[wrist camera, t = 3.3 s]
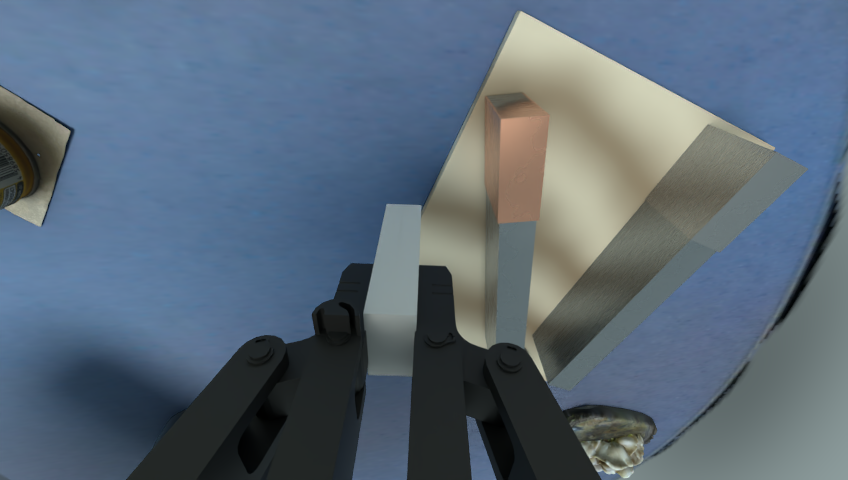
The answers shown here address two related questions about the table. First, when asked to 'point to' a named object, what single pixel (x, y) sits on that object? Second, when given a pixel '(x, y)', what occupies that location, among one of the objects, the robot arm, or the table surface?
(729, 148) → the tongs fixed
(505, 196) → the tong arm
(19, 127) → the condiment
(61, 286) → the table surface
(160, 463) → the robot arm
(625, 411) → the log
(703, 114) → the board
